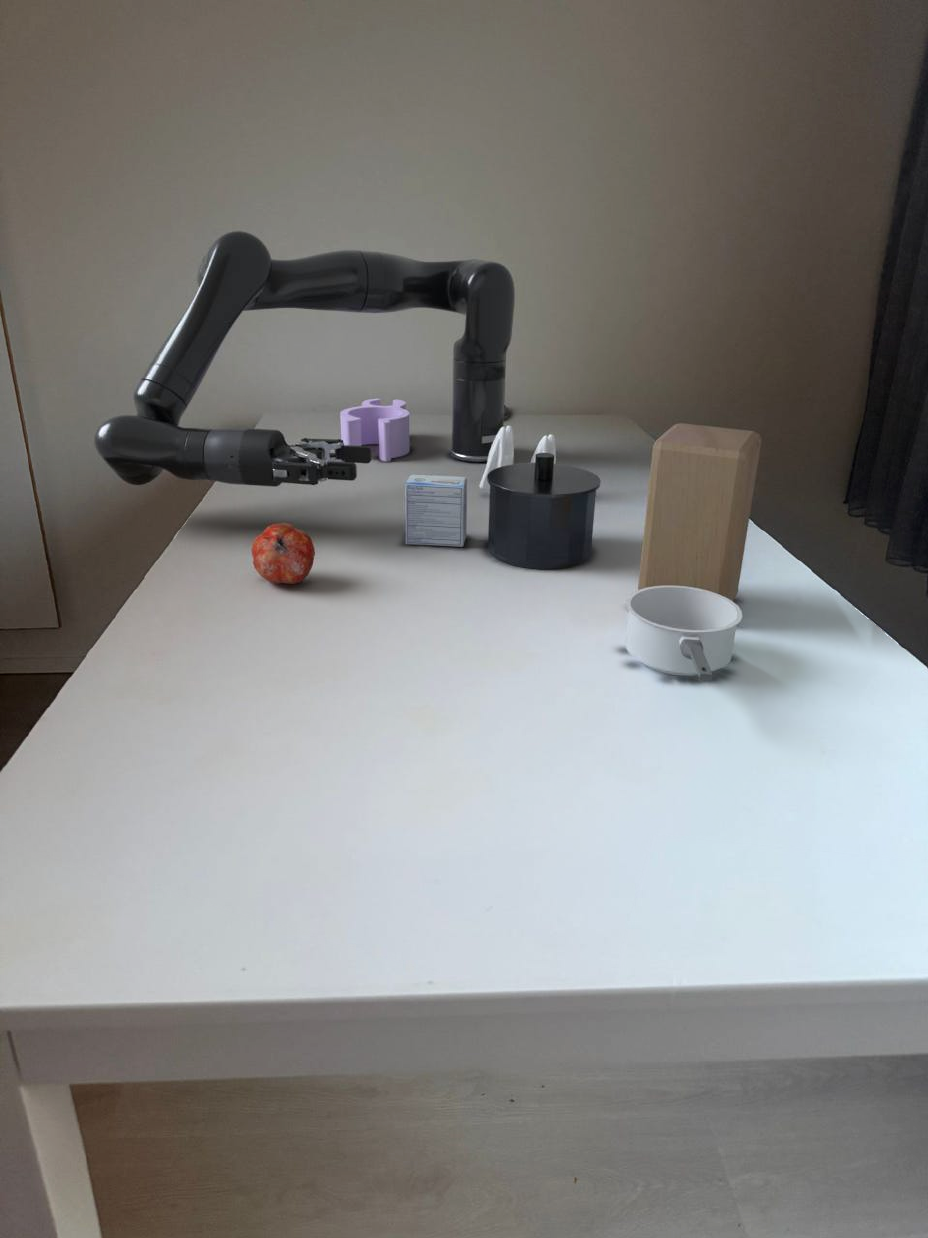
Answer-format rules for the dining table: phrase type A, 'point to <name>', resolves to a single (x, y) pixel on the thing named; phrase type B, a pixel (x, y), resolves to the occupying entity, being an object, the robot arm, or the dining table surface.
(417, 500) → the medicine box
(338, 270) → the robot arm
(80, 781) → the dining table surface
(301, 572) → the pomegranate
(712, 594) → the saucepan
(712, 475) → the wooden block
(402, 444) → the clip
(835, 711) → the dining table surface
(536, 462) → the pot lid
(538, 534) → the pot
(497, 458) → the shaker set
